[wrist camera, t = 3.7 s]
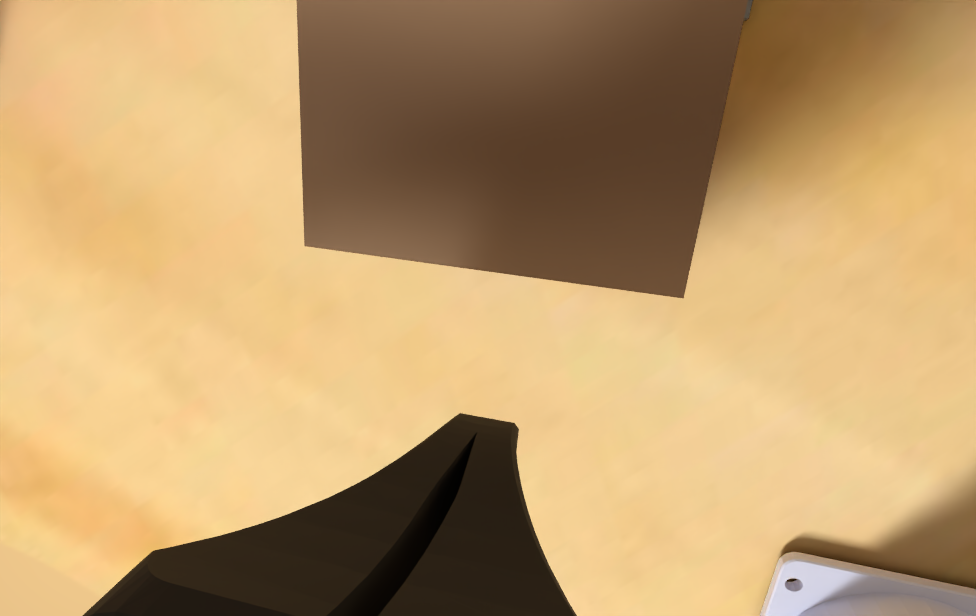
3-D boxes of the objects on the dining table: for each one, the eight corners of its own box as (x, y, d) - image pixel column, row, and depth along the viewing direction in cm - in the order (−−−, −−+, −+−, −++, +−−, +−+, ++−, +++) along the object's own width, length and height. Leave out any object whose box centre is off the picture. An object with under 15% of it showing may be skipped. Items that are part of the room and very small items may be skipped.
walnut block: (646, 215, 15) (683, 298, 8) (443, 192, 16) (304, 246, 9) (674, 61, 14) (751, -17, 6) (451, 46, 15) (295, -36, 7)
